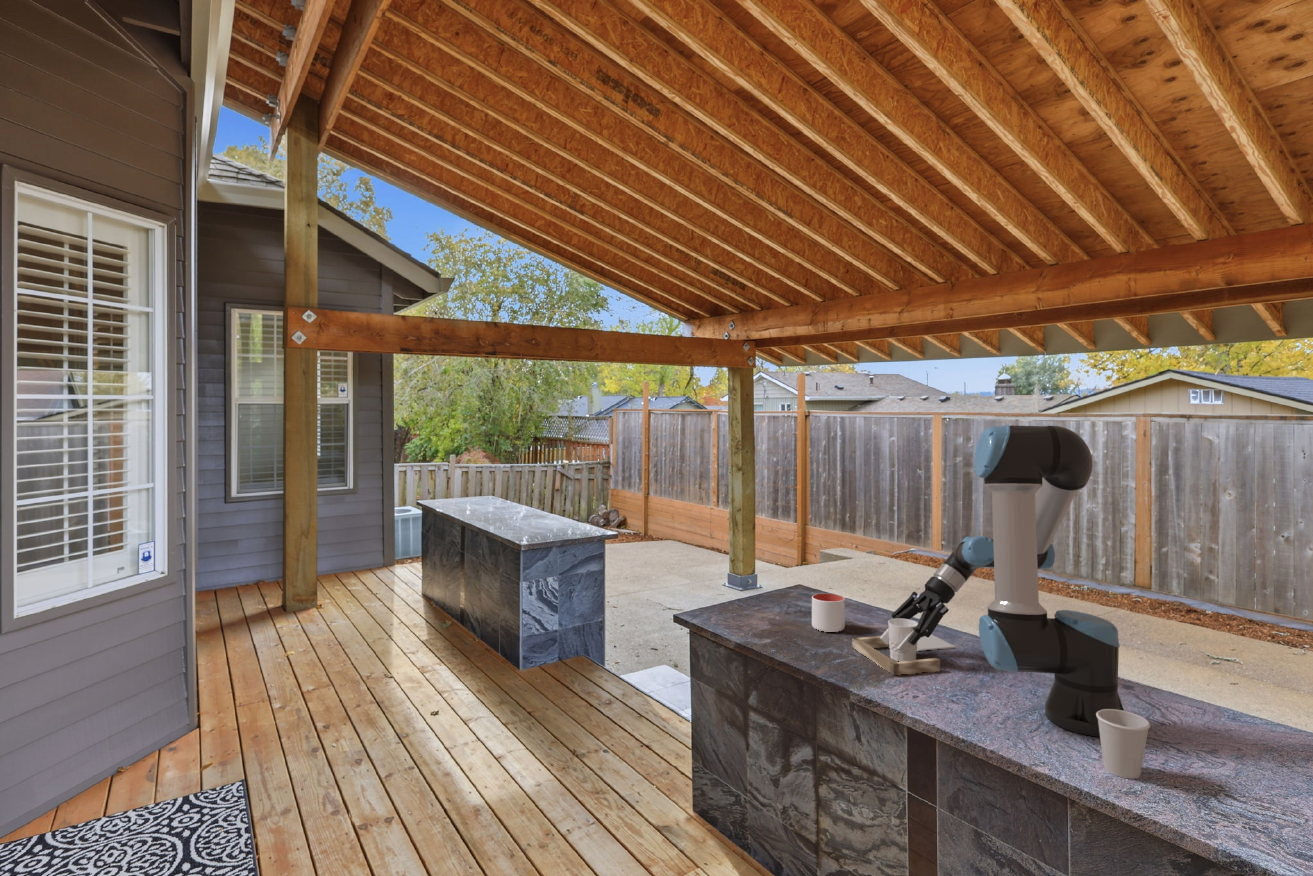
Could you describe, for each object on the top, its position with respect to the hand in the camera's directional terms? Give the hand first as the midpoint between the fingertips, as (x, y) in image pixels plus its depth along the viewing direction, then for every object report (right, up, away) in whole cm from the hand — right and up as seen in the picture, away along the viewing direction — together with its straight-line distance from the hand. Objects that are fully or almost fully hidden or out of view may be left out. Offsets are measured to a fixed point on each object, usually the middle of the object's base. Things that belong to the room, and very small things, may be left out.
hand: (892, 646), depth 185 cm
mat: (+14, -3, +13) cm, 20 cm away
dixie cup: (+23, -6, -58) cm, 63 cm away
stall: (+1, -4, 0) cm, 4 cm away
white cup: (+3, -4, +1) cm, 5 cm away
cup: (-11, -3, +27) cm, 29 cm away
